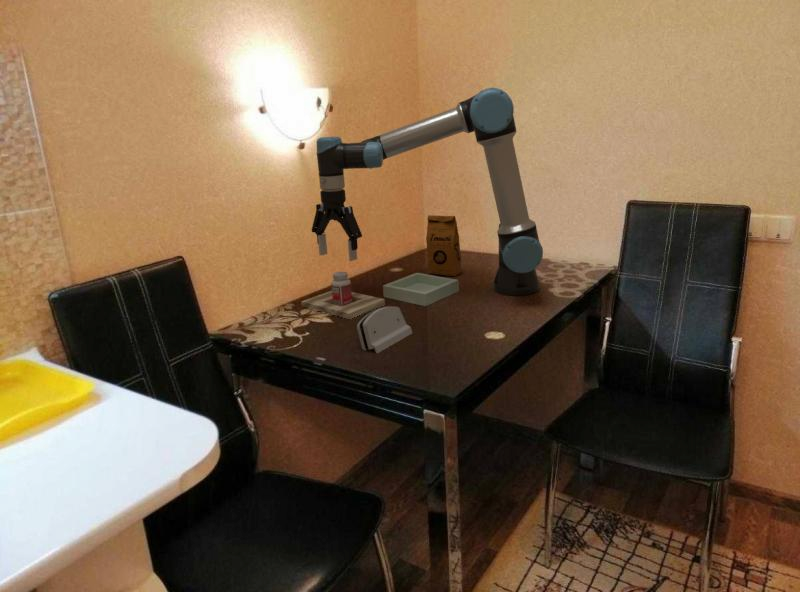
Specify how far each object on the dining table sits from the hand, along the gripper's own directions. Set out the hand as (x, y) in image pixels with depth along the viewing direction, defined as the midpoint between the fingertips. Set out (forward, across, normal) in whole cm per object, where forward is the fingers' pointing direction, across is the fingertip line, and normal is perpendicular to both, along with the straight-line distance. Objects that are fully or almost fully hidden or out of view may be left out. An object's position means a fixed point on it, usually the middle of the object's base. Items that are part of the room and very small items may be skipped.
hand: (338, 257), depth 186 cm
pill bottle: (+16, 0, 0) cm, 17 cm away
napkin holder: (+16, +31, -14) cm, 38 cm away
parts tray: (+16, +14, +23) cm, 32 cm away
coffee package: (+16, +6, +47) cm, 50 cm away
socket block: (+16, 0, 0) cm, 16 cm away
